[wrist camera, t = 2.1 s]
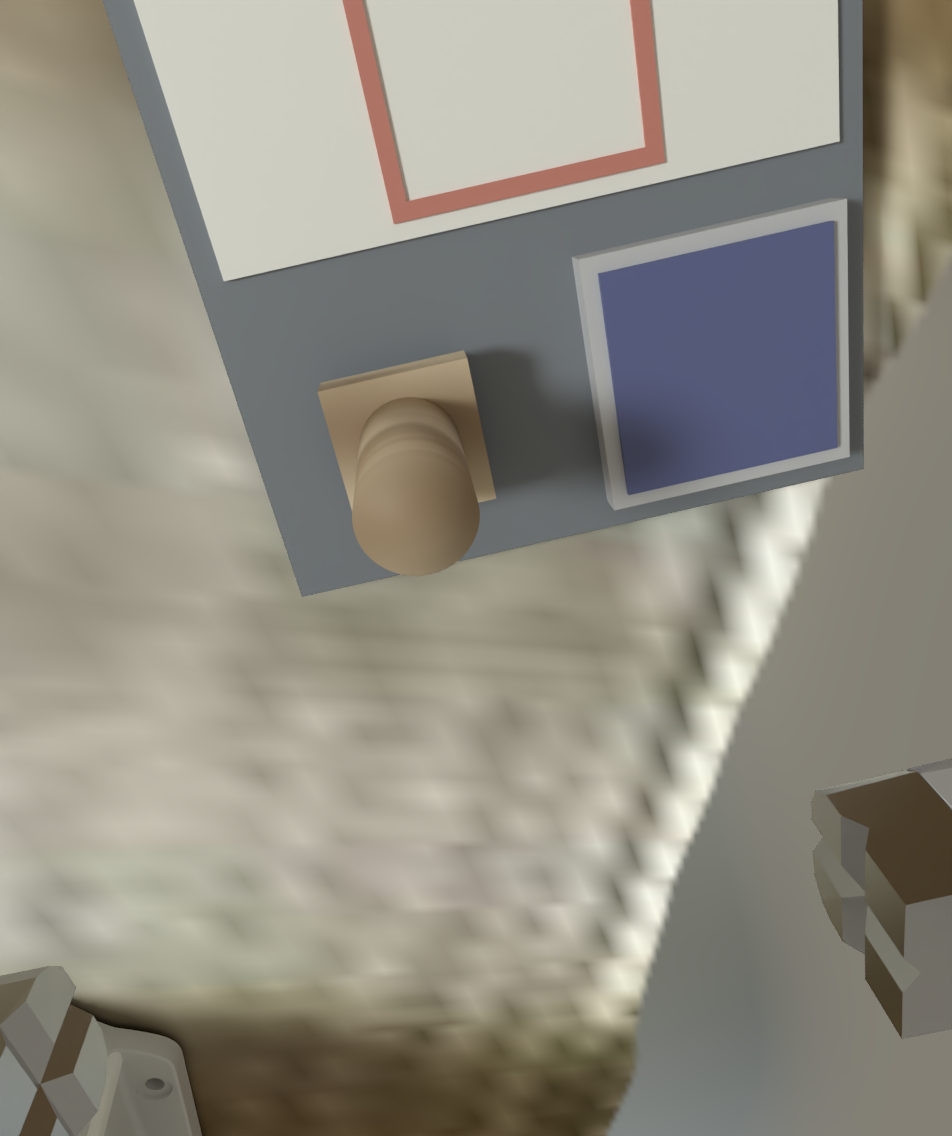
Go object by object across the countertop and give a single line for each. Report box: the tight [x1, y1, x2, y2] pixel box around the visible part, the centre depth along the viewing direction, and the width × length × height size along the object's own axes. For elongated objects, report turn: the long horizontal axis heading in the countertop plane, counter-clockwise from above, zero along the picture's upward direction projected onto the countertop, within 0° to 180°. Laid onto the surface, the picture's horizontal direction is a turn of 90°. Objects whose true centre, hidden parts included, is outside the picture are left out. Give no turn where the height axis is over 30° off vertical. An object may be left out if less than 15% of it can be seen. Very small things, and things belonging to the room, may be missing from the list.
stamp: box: [318, 350, 496, 576], centre depth 23 cm, size 4×4×8 cm
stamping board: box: [103, 0, 864, 597], centre depth 25 cm, size 20×20×2 cm
